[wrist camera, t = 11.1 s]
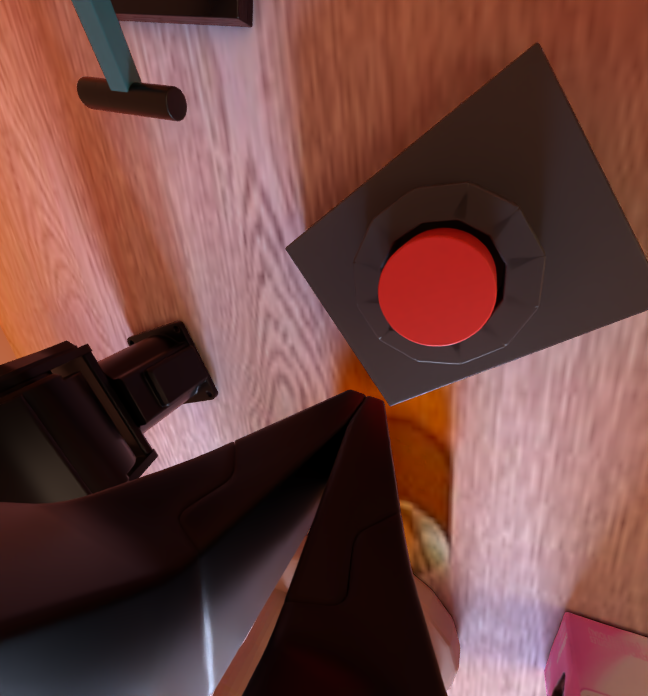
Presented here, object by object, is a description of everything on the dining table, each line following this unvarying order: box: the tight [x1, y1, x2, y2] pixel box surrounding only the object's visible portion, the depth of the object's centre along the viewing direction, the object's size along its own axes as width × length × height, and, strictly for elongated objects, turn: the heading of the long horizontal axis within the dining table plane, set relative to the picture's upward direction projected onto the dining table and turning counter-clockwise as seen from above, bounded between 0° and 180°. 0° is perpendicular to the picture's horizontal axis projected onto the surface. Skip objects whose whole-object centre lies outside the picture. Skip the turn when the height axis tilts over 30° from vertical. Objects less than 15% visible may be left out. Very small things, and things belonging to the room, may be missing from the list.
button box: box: [285, 42, 648, 406], centre depth 16 cm, size 12×10×4 cm
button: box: [378, 228, 497, 346], centre depth 13 cm, size 4×4×2 cm
